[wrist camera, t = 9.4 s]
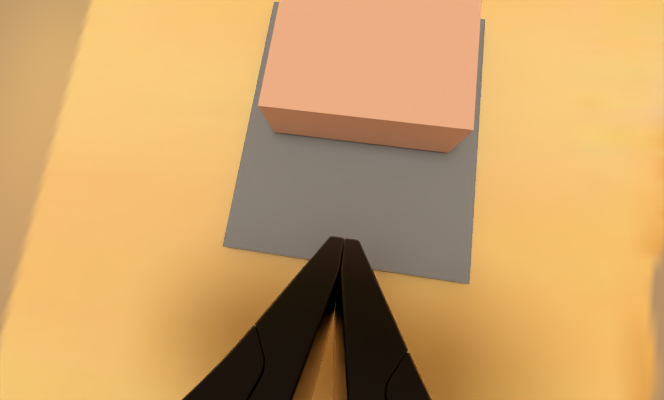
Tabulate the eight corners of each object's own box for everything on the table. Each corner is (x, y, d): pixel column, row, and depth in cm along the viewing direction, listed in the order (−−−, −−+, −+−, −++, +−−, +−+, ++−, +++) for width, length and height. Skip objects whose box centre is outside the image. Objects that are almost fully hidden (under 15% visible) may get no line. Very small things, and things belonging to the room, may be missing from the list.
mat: (465, 282, 17) (469, 284, 17) (226, 246, 18) (222, 246, 18) (481, 26, 20) (485, 19, 20) (276, 8, 22) (274, 1, 21)
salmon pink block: (473, 130, 14) (482, -12, 16) (257, 105, 15) (285, -27, 17) (447, 153, 18) (456, 37, 20) (274, 133, 19) (296, 23, 21)
